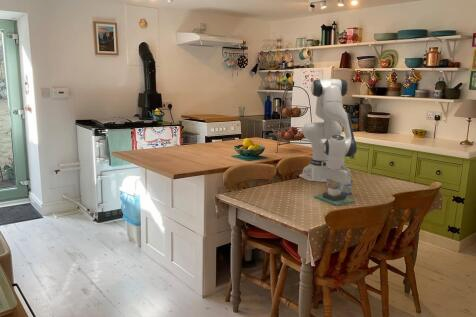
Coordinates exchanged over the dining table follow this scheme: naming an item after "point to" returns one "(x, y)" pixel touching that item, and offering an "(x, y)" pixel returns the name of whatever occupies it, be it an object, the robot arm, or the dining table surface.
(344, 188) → the medicine box
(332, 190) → the keyed plug
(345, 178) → the robot arm
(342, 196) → the header board
